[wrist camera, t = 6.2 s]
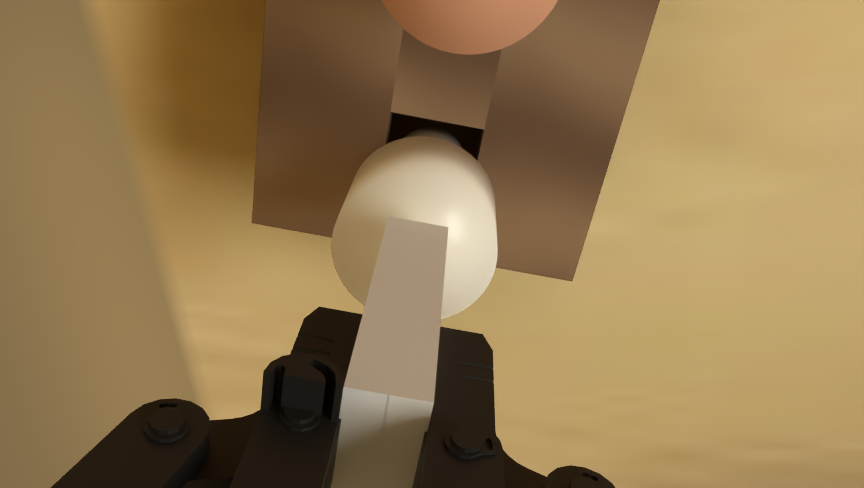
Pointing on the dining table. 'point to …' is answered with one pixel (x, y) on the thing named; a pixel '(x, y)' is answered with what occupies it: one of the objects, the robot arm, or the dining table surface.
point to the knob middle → (469, 22)
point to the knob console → (448, 115)
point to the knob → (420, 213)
